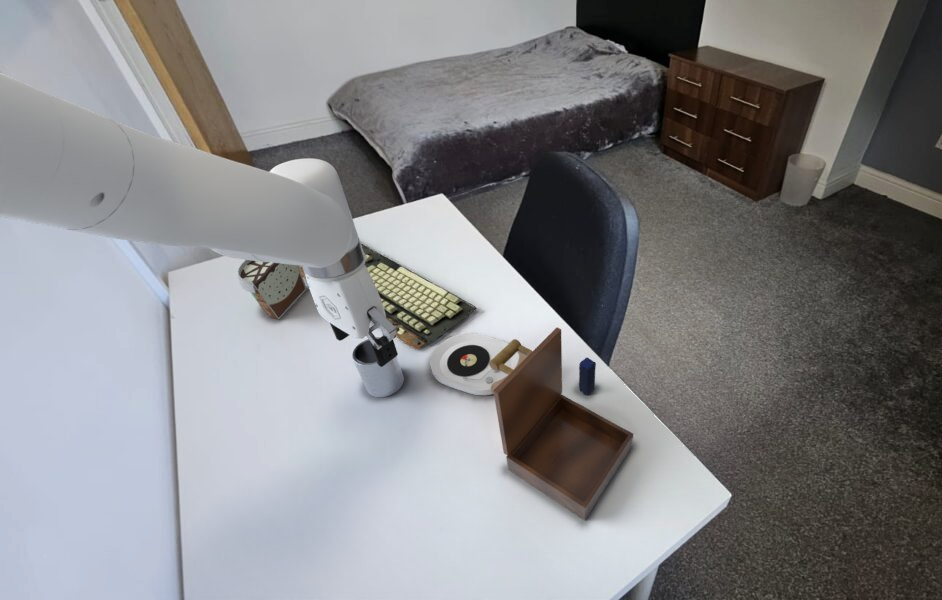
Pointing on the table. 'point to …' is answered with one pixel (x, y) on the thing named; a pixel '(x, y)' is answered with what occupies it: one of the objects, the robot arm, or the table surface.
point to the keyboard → (413, 301)
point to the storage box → (571, 455)
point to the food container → (272, 285)
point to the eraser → (587, 376)
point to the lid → (527, 387)
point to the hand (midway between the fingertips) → (367, 347)
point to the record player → (470, 363)
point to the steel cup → (377, 371)
